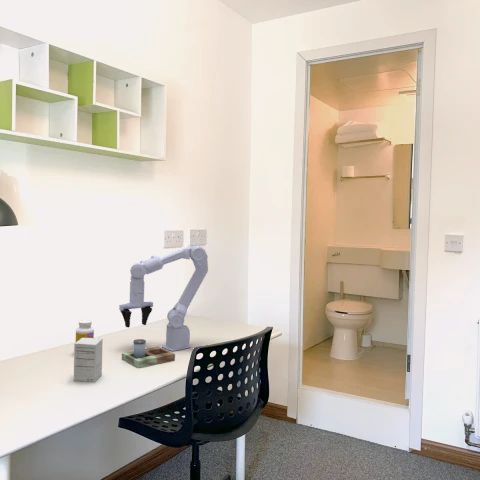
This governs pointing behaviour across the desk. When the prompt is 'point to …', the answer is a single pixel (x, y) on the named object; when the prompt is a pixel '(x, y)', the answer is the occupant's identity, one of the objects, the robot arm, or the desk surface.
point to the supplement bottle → (84, 330)
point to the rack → (149, 357)
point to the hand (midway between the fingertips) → (135, 325)
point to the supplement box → (88, 359)
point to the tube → (139, 348)
